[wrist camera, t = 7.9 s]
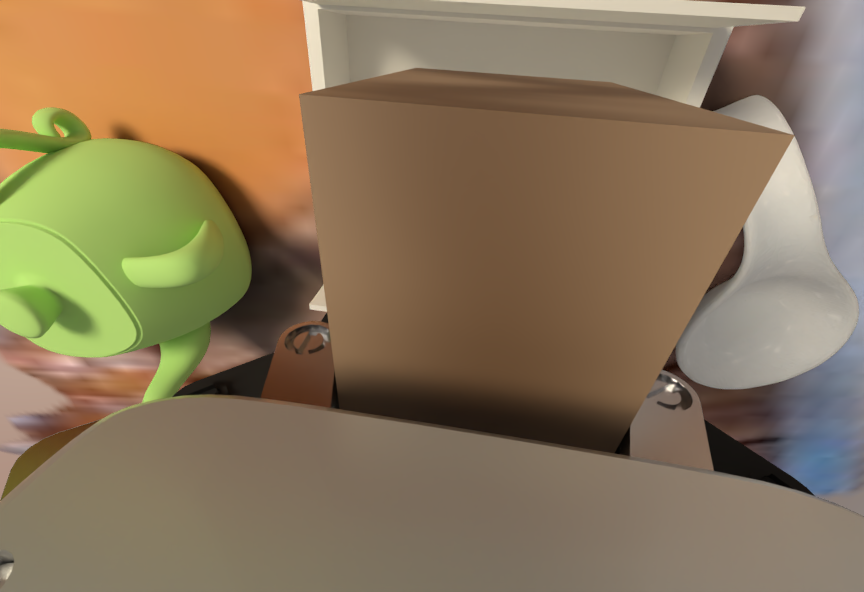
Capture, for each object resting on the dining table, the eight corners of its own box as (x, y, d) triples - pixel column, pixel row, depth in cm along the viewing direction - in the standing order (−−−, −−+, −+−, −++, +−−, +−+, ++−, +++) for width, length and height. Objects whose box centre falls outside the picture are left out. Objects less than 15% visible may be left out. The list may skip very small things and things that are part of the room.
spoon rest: (822, 342, 32) (895, 408, 26) (673, 375, 37) (707, 438, 31) (816, 60, 22) (934, 66, 16) (610, 153, 26) (642, 184, 21)
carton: (693, 19, 22) (834, 1, 13) (602, 266, 31) (646, 357, 22) (335, -2, 23) (234, -31, 14) (352, 237, 33) (298, 310, 24)
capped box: (611, 82, 9) (794, 135, 4) (520, 400, 16) (533, 595, 10) (416, 67, 10) (299, 95, 4) (407, 382, 17) (359, 561, 11)
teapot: (74, 69, 28) (-229, 87, 16) (309, 215, 32) (202, 314, 21) (71, 247, 38) (-118, 337, 26) (251, 341, 42) (156, 456, 31)
